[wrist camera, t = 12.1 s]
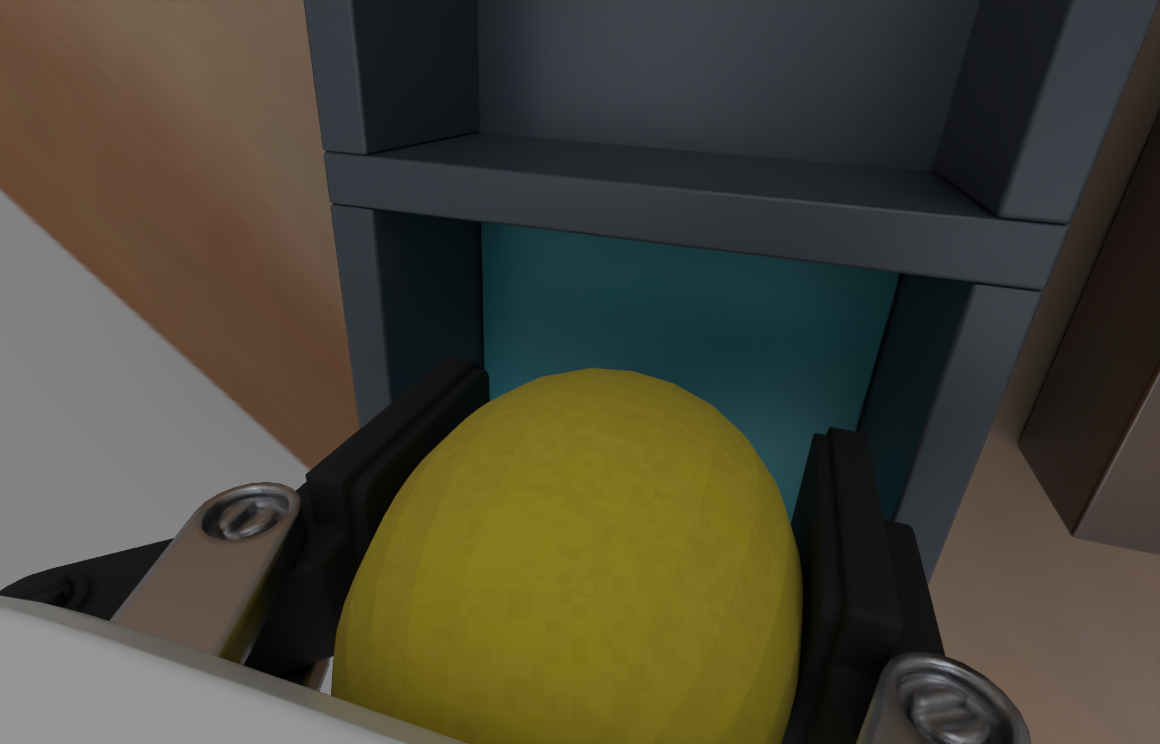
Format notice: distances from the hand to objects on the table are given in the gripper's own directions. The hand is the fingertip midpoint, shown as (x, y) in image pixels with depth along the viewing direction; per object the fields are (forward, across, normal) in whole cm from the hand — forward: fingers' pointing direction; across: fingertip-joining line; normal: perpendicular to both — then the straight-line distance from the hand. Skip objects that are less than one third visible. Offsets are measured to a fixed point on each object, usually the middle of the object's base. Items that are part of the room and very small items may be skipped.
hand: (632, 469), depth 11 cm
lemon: (+1, 0, 0) cm, 1 cm away
